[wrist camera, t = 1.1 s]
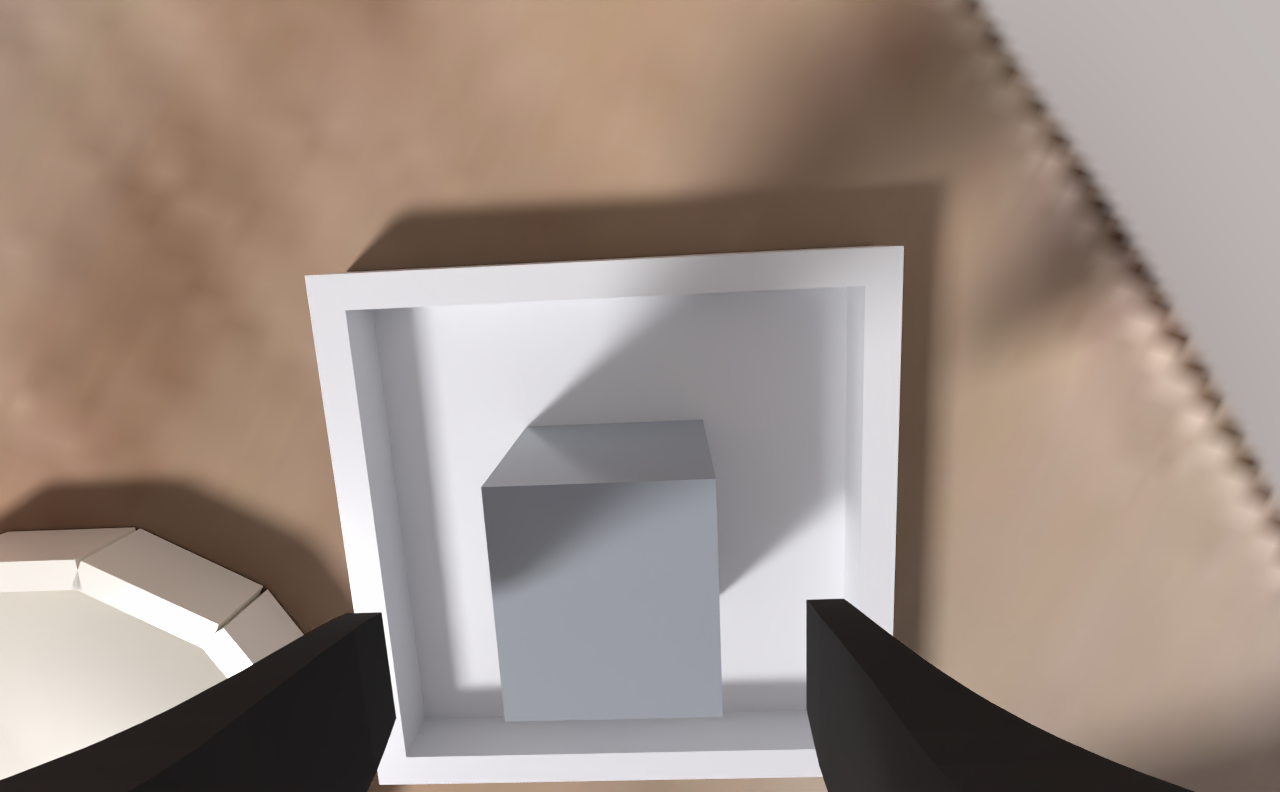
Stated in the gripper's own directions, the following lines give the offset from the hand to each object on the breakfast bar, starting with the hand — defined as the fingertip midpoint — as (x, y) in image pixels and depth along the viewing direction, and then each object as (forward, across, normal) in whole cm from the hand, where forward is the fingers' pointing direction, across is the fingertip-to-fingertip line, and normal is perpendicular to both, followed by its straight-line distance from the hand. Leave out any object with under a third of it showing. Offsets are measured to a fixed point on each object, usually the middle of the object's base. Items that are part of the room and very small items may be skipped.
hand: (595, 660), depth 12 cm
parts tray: (+7, 0, 0) cm, 7 cm away
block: (+6, 0, 0) cm, 6 cm away
